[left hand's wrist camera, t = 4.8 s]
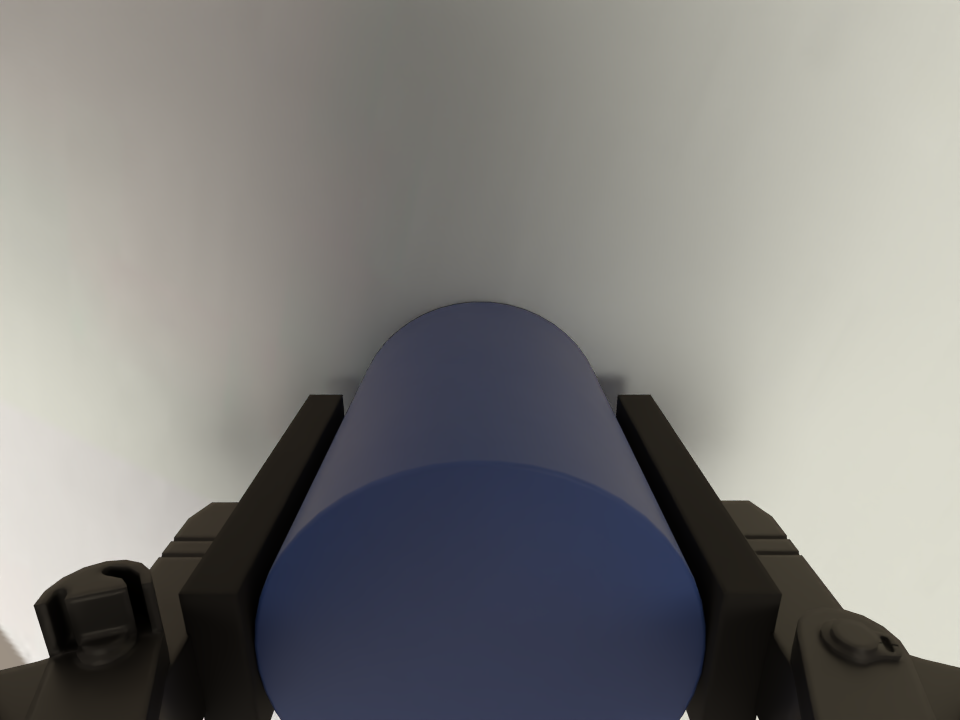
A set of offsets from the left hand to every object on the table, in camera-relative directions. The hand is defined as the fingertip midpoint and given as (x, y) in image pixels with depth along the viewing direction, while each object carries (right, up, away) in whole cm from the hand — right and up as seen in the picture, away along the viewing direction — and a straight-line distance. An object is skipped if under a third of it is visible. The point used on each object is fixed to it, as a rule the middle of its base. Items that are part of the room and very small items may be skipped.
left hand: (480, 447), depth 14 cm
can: (0, +1, +1) cm, 2 cm away
